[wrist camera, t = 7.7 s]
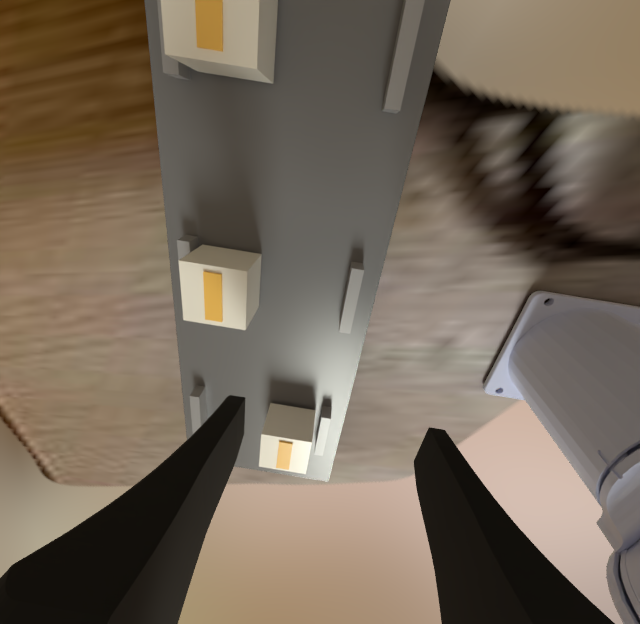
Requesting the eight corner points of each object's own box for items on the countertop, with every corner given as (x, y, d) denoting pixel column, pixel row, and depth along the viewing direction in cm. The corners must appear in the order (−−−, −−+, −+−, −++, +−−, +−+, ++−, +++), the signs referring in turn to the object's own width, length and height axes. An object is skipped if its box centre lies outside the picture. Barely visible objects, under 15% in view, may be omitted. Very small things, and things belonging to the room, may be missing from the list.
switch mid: (261, 254, 15) (246, 272, 13) (259, 306, 17) (245, 331, 14) (202, 244, 15) (177, 261, 13) (204, 297, 17) (182, 321, 14)
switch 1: (279, -23, 11) (261, -69, 8) (273, 83, 12) (256, 68, 10) (194, -36, 11) (152, -87, 8) (197, 71, 12) (163, 53, 10)
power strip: (466, -123, 11) (520, -246, 8) (330, 448, 26) (327, 494, 23) (171, -170, 11) (92, -314, 8) (204, 428, 26) (182, 470, 23)
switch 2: (315, 410, 20) (311, 444, 18) (310, 441, 22) (305, 475, 19) (270, 403, 20) (260, 435, 18) (267, 434, 22) (258, 468, 19)
